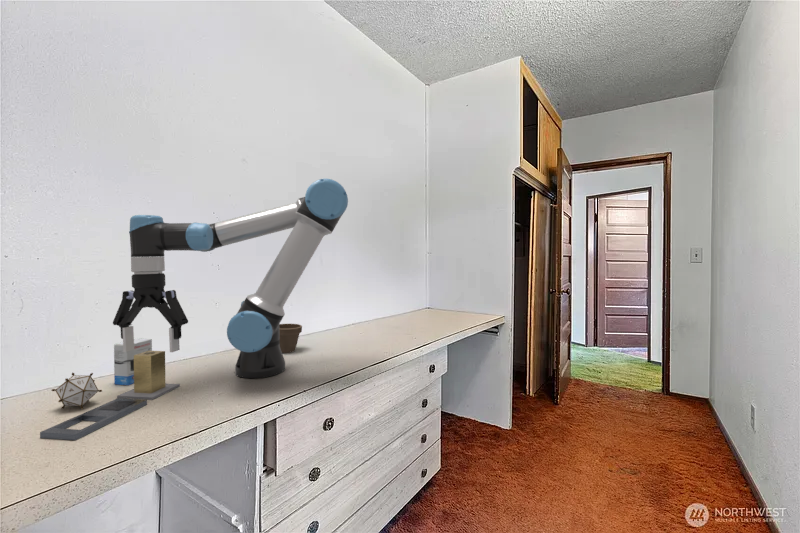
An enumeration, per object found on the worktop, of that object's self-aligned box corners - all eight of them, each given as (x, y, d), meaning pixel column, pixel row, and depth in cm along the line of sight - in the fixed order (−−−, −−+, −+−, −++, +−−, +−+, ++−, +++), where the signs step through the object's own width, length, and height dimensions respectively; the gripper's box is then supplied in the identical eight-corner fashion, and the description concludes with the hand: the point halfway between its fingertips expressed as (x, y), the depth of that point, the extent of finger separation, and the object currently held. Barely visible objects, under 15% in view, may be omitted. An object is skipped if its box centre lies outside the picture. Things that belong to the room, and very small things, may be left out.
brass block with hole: (165, 386, 102) (165, 350, 102) (151, 393, 97) (150, 355, 97) (149, 386, 103) (148, 350, 102) (134, 392, 98) (133, 355, 98)
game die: (74, 425, 88) (48, 402, 82) (62, 405, 92) (36, 382, 86) (114, 398, 94) (93, 374, 88) (101, 380, 98) (80, 357, 92)
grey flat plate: (146, 404, 91) (146, 399, 91) (75, 440, 73) (75, 434, 73) (117, 403, 92) (117, 398, 92) (40, 438, 74) (40, 431, 74)
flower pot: (307, 348, 148) (307, 323, 148) (292, 356, 137) (292, 329, 137) (281, 347, 150) (281, 322, 150) (265, 354, 139) (265, 327, 139)
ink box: (127, 385, 105) (127, 344, 104) (113, 384, 106) (112, 344, 105) (153, 376, 113) (152, 338, 113) (140, 375, 114) (139, 337, 114)
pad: (179, 386, 104) (179, 384, 104) (152, 399, 94) (152, 397, 94) (147, 384, 105) (147, 382, 105) (117, 397, 96) (117, 395, 96)
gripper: (200, 271, 102) (203, 347, 102) (118, 272, 104) (121, 346, 105) (181, 272, 94) (184, 355, 95) (93, 274, 97) (97, 354, 97)
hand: (151, 350), depth 100 cm, fingers open, 13 cm apart
